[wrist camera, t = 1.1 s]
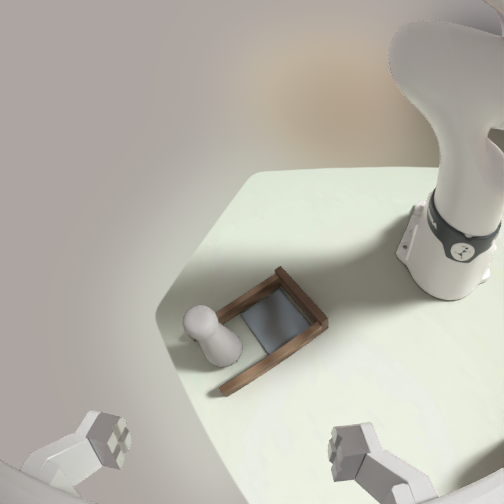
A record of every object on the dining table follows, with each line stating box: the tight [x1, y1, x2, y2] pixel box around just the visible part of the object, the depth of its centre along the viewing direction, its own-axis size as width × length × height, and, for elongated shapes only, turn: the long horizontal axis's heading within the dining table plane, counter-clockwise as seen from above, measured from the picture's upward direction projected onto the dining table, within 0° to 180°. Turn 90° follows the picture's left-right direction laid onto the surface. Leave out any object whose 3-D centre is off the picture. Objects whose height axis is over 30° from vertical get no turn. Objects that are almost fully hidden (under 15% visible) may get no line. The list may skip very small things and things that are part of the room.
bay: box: [189, 266, 328, 397], centre depth 45 cm, size 18×12×4 cm, turn 122°
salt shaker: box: [183, 305, 242, 367], centre depth 40 cm, size 6×6×13 cm
